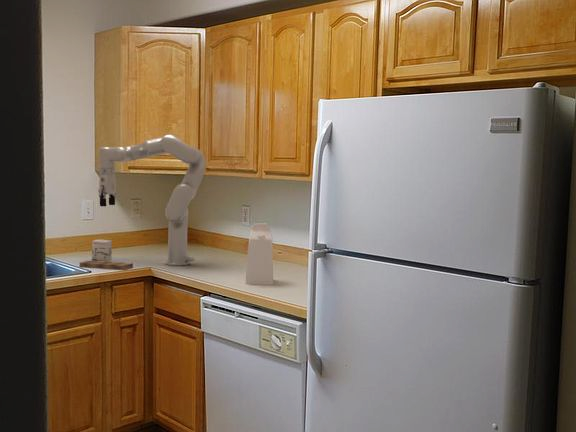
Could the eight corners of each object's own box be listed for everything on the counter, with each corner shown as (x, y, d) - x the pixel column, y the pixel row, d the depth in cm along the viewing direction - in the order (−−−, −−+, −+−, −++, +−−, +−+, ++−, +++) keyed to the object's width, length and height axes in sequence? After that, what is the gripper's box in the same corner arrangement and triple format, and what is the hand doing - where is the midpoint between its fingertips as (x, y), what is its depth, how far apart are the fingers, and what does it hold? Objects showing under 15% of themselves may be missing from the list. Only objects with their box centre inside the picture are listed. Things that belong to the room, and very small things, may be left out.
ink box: (91, 263, 301) (91, 240, 300) (97, 262, 305) (97, 239, 304) (106, 265, 298) (106, 241, 297) (112, 263, 303) (112, 240, 302)
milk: (272, 279, 274) (274, 222, 271) (273, 284, 262) (274, 225, 260) (246, 278, 273) (247, 221, 271) (245, 284, 262) (246, 224, 260)
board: (133, 267, 294) (133, 263, 294) (125, 270, 286) (125, 265, 286) (88, 264, 299) (88, 260, 299) (79, 266, 291) (79, 262, 291)
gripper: (106, 172, 295) (106, 207, 296) (121, 171, 312) (122, 204, 313) (91, 171, 296) (92, 206, 297) (107, 171, 313) (108, 204, 314)
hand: (107, 205), depth 305 cm, fingers open, 9 cm apart
